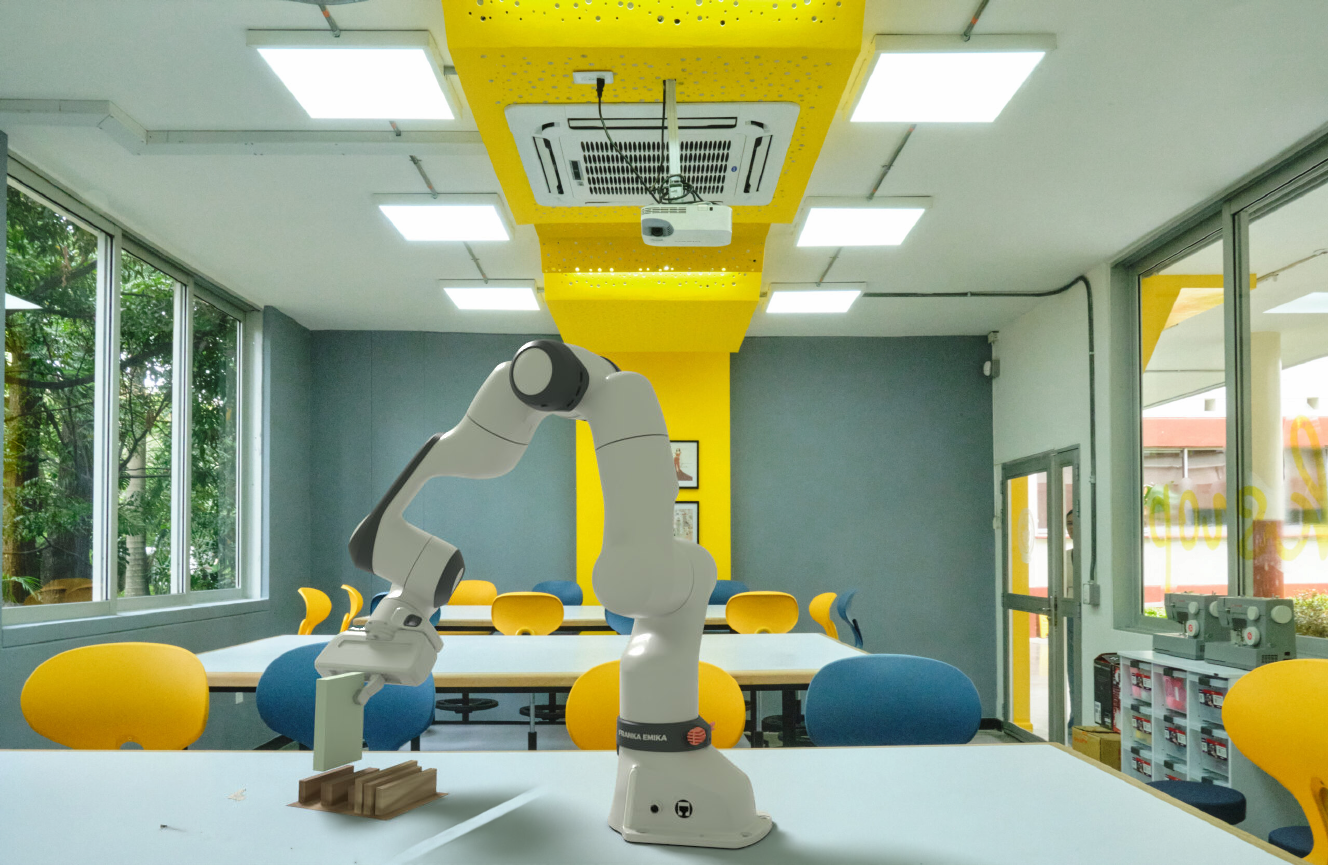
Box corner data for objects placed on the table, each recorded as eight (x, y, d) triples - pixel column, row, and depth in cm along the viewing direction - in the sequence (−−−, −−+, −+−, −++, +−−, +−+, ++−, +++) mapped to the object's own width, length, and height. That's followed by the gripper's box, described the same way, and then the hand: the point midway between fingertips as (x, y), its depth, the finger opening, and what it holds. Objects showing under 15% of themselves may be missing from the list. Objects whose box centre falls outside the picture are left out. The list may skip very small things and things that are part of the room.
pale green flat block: (361, 759, 140) (364, 672, 142) (323, 771, 133) (326, 679, 135) (351, 757, 141) (354, 671, 143) (312, 770, 134) (316, 679, 135)
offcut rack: (449, 801, 137) (450, 762, 138) (385, 829, 124) (387, 785, 125) (354, 789, 144) (355, 751, 145) (285, 813, 131) (287, 772, 132)
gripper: (335, 615, 152) (286, 684, 142) (436, 619, 144) (392, 693, 134) (353, 639, 156) (307, 709, 146) (452, 645, 148) (411, 719, 138)
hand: (349, 701), depth 140 cm, fingers closed on pale green flat block, 2 cm apart
